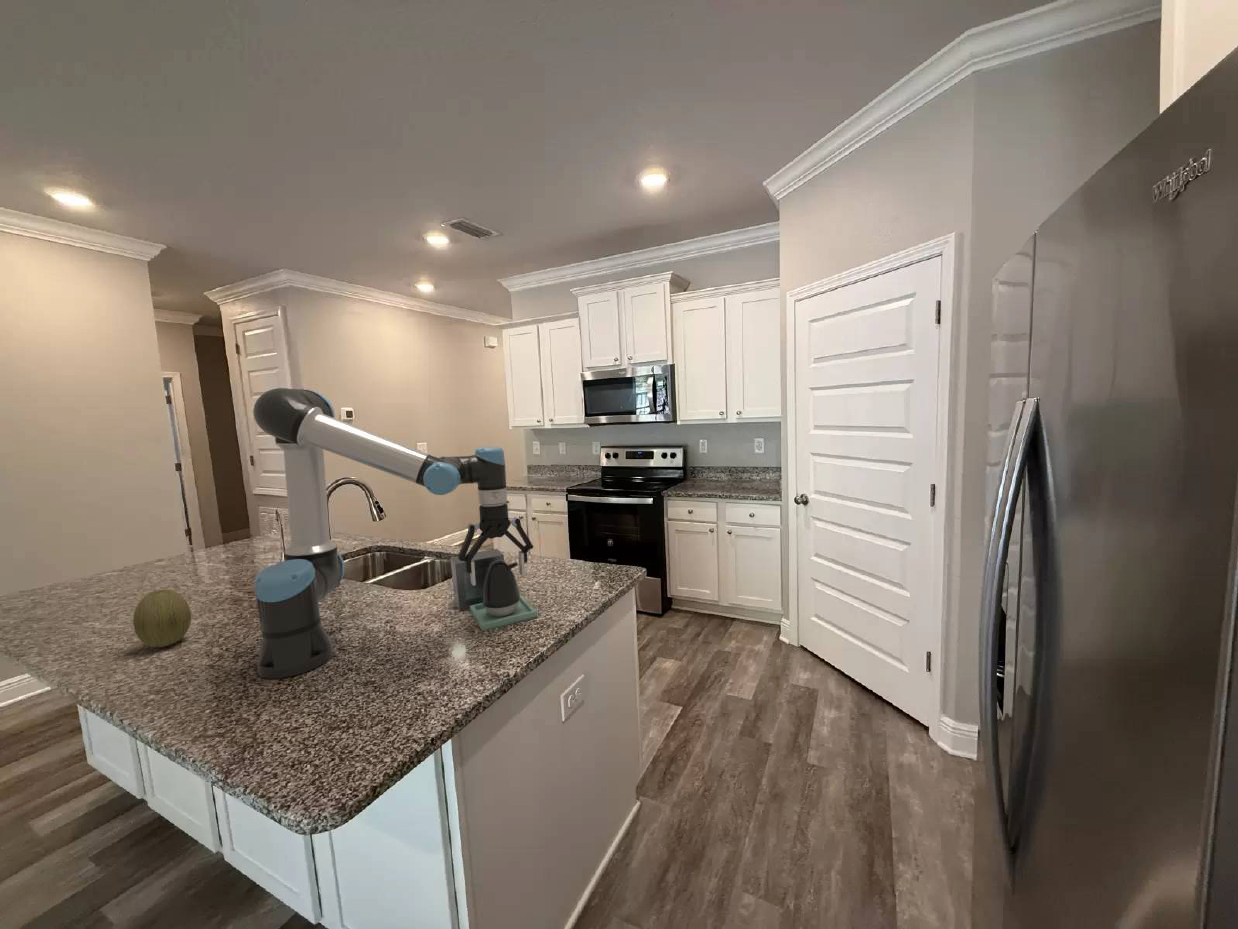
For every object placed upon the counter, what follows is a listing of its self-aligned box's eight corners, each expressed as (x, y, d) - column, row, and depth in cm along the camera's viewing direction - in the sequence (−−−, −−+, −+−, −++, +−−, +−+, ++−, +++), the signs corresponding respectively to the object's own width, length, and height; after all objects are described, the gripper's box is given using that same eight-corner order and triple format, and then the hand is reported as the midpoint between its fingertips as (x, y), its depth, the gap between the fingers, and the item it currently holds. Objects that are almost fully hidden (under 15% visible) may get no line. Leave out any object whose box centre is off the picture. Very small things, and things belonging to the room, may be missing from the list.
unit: (459, 611, 143) (455, 564, 141) (454, 601, 150) (450, 557, 149) (507, 600, 149) (504, 555, 147) (500, 591, 157) (496, 548, 155)
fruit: (202, 639, 134) (193, 586, 132) (147, 659, 124) (137, 601, 122) (185, 631, 139) (176, 580, 138) (131, 649, 130) (121, 595, 128)
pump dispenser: (517, 620, 134) (512, 565, 132) (479, 621, 134) (473, 567, 132) (525, 604, 144) (520, 553, 142) (489, 606, 144) (484, 555, 142)
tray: (482, 631, 129) (481, 625, 129) (470, 612, 142) (469, 606, 142) (537, 617, 136) (536, 611, 136) (521, 599, 149) (520, 594, 149)
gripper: (447, 512, 126) (454, 592, 129) (541, 500, 138) (545, 574, 140) (443, 507, 133) (449, 584, 135) (533, 496, 144) (537, 567, 147)
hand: (498, 579), depth 138 cm, fingers open, 13 cm apart
